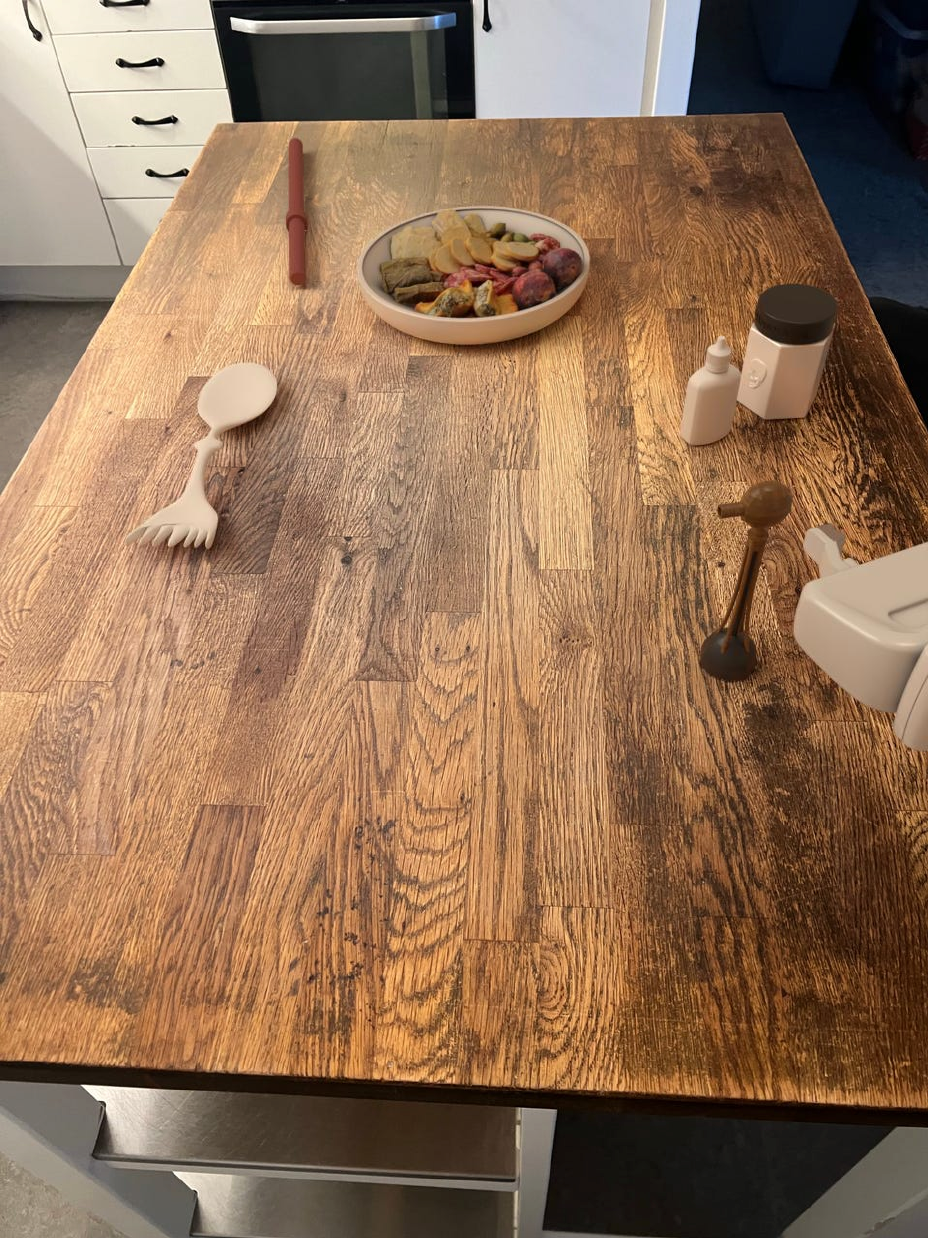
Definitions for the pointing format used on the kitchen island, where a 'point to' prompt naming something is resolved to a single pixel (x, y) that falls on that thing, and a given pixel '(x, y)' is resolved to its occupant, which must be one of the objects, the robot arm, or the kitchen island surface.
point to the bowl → (473, 274)
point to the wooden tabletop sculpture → (745, 581)
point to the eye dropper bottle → (711, 397)
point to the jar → (787, 350)
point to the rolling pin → (296, 214)
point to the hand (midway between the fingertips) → (877, 514)
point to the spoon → (210, 453)
